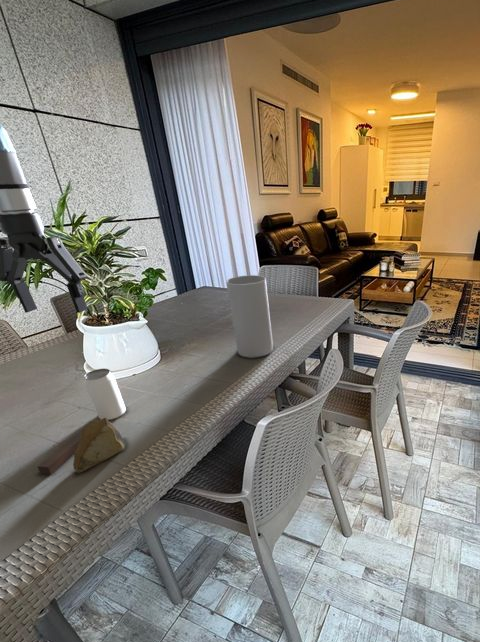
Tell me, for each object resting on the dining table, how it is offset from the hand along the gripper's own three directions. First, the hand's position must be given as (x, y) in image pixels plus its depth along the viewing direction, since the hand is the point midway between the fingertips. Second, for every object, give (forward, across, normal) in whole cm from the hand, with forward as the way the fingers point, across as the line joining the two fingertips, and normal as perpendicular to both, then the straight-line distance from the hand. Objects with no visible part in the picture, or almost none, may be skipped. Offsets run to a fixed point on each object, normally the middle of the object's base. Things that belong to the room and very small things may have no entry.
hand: (56, 310), depth 84 cm
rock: (+27, -16, +20) cm, 37 cm away
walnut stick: (+27, -8, +18) cm, 33 cm away
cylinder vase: (+27, -35, -37) cm, 58 cm away
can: (+27, -8, +4) cm, 28 cm away
